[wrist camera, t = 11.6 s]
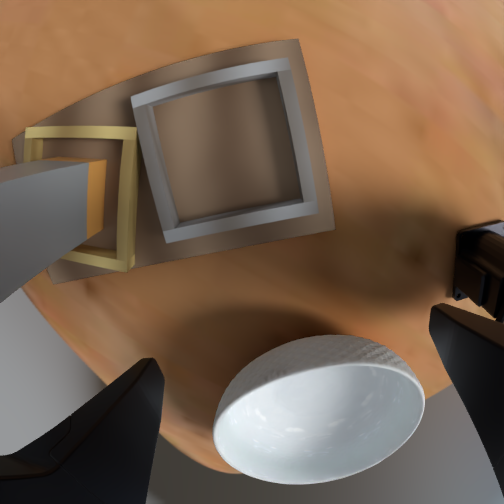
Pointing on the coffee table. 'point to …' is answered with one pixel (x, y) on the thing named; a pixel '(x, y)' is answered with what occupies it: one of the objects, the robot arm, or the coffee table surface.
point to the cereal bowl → (317, 410)
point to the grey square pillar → (46, 214)
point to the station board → (195, 159)
